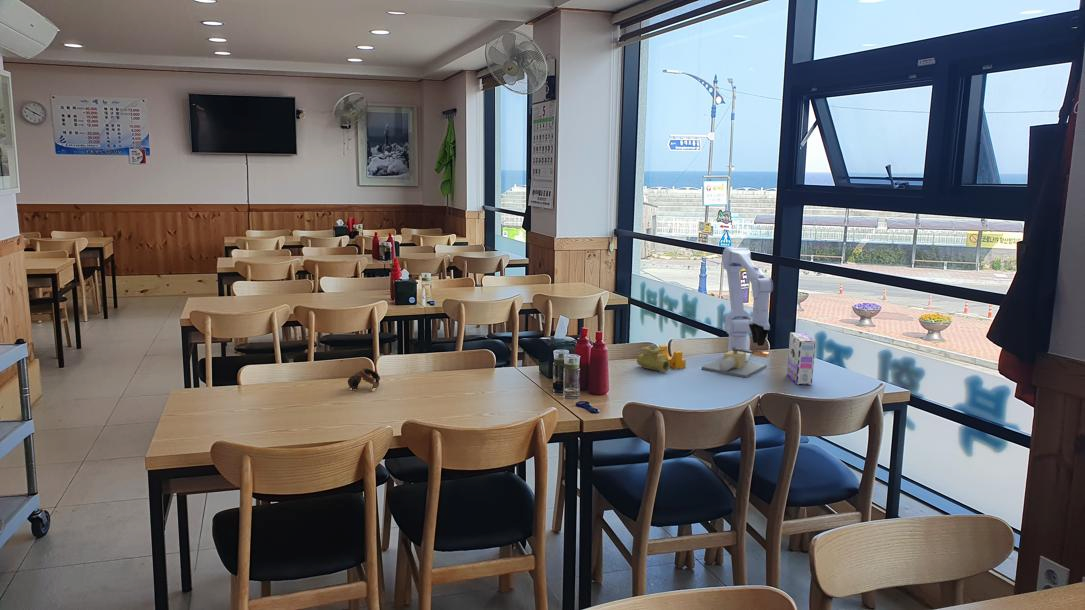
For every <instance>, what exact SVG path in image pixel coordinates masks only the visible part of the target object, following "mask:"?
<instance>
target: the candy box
mask: <svg viewBox="0 0 1085 610" xmlns="http://www.w3.org/2000/svg"><path fill="white" fill-rule="evenodd" d="M788 340H789V342H788V357H787V371H786V375H787V376H788V377H789V378H790V379H791V381H793V382H794V383H795V385H799V384H802V386H805V385H806V386H812V385H813V375H814V363H815V354H816V353H815V352H816V343H817V342H816V340H814V339H813V338H812V337H810V336H809V335H808V334H807V333H805V332H789V339H788Z"/></svg>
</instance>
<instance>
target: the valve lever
mask: <svg viewBox="0 0 1085 610" xmlns="http://www.w3.org/2000/svg"><path fill="white" fill-rule="evenodd" d="M732 351H739V352H745V353H750V354H751V355H754V356H758V357H763V358H768V357H770V352H768V351H762V350H751V349H749V350H746V349H740V348H737V347H732Z"/></svg>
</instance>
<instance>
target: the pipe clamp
mask: <svg viewBox="0 0 1085 610" xmlns="http://www.w3.org/2000/svg"><path fill="white" fill-rule="evenodd" d="M659 348H664V349H665V351H661V352H658V355H659V354H665V355H666V356H667V357H668V361H669V362H670V368H674V369H675V370H677V369H684V368H685V369H686V362H687V361H686V359H684V358H683V351H680V350H677V351H673V355H672V356H670V353H669V349H668V346H667V345H665V344H663V345H659Z"/></svg>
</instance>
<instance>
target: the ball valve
mask: <svg viewBox="0 0 1085 610" xmlns="http://www.w3.org/2000/svg"><path fill="white" fill-rule="evenodd" d="M640 350H641V351H643V352H646V351H647V352H646V353H642V352H641V353H640V354H638V355H637V359H636V362H637V365H639V366H640V367H641V368H644V369H648V370H652V371H655V370H657V371H661V372H664V373H667V372H669V370H670V368H671V366H670V362H669V361H668V357H667V356H666V355H665V354H659V352H661V351H665V349H664V348H659V347H658V346H657V345H656V344H655V343H651V344H650V345H648V346H644V347H641V348H640ZM657 353H658V354H657Z"/></svg>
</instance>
